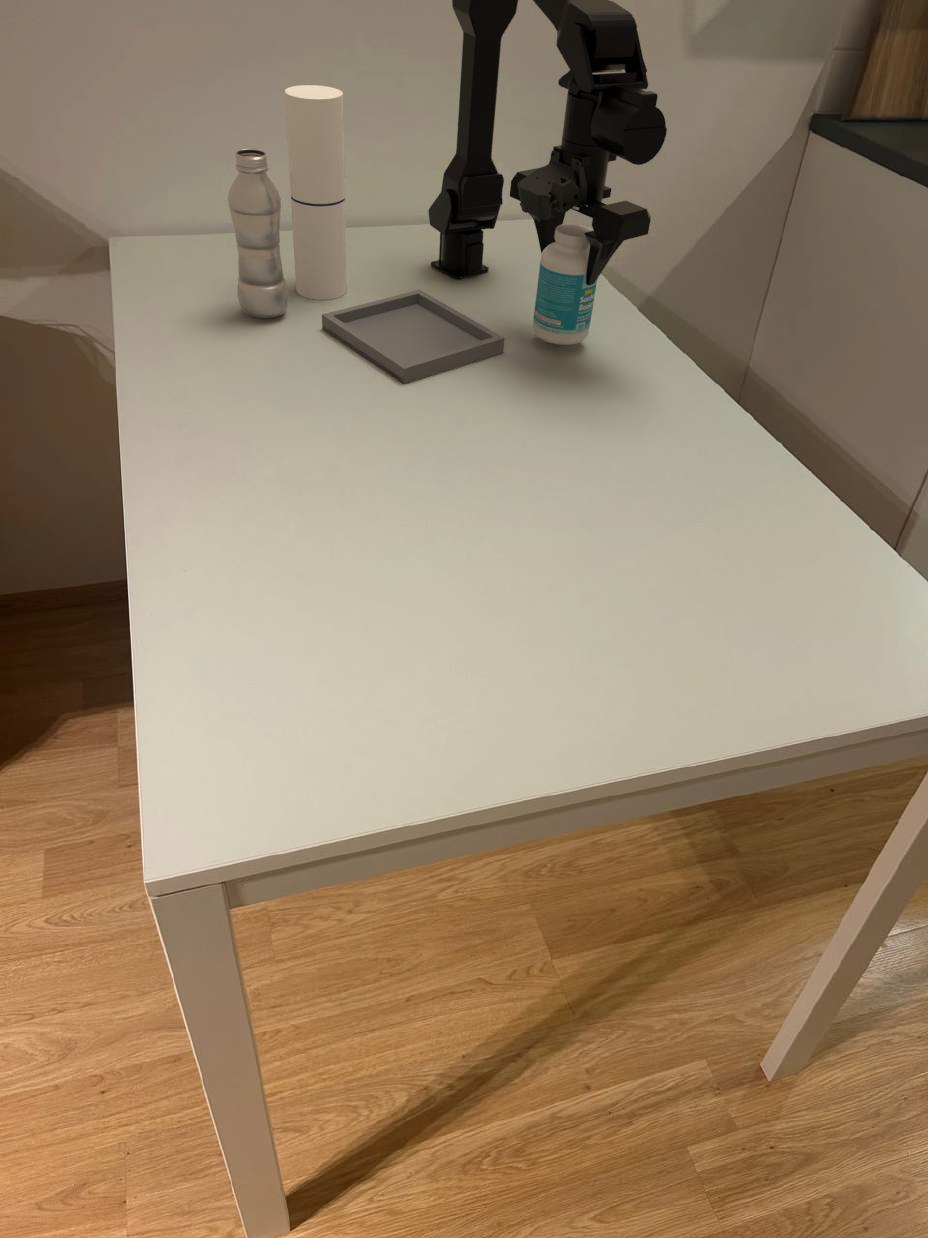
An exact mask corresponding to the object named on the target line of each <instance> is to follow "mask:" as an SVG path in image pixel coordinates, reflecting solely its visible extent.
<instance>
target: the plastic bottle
mask: <svg viewBox="0 0 928 1238" xmlns="http://www.w3.org/2000/svg"><path fill="white" fill-rule="evenodd" d="M267 156H268V155H267V153H266V152H265V151H264V150H261V149H257V148H256V149H254V148H244V149H239V150H236V151H235V170H236V171H238V173H237V175H236V177H235V179H234V180H233V182H232V183H231V186H230V187H229V190H228V196H227V202H228V208H229V212H230V216H231V220H232V223H233V224H232V226H233V228H234V234H235V235H234V236H235V241H236V248H237V253H238V261H237V262H238V279H237V294H236V295H237V298H238V302H239V303H238V304H239V307H240V308H241V310H243V312H244V313H245V314H246V315H248V316H250V317H253V318H256V319H272V318H276V317H279V316H281V315H283V314H284V313H285V311H286V310H287V307H288V303H289V291H288V287H287V283H286V280H285V277H284V270H283V263H282V258H281V245H280V243H281V241H280V240H281V237H280V235H281V234H280V225H281V211H282V210H281V208H282V201H281V200H282V198H281V196H280V193H279V190H278V189H277V188H276V186H275V183H273V181H272V180H271V178H270V177H269V176H268V175H267V172H268V171H269V164H268V159H267V158H268V157H267Z"/></svg>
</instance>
